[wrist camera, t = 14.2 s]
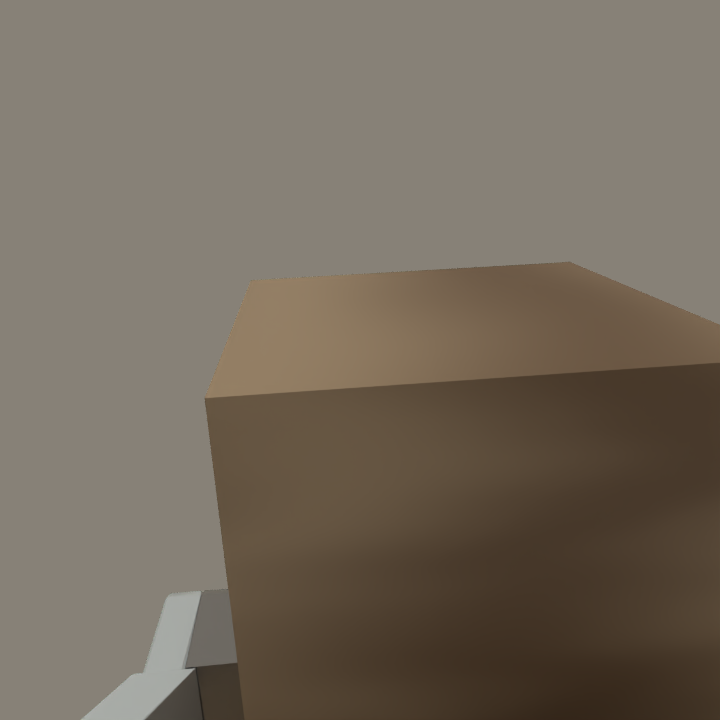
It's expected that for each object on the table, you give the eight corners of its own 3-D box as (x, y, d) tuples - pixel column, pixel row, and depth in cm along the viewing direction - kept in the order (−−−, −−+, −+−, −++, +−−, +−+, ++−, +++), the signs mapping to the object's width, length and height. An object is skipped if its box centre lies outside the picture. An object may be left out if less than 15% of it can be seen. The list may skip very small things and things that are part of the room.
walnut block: (305, 1215, 9) (204, 398, 5) (304, 846, 14) (251, 280, 10) (657, 1161, 9) (797, 356, 6) (538, 819, 14) (569, 261, 10)
